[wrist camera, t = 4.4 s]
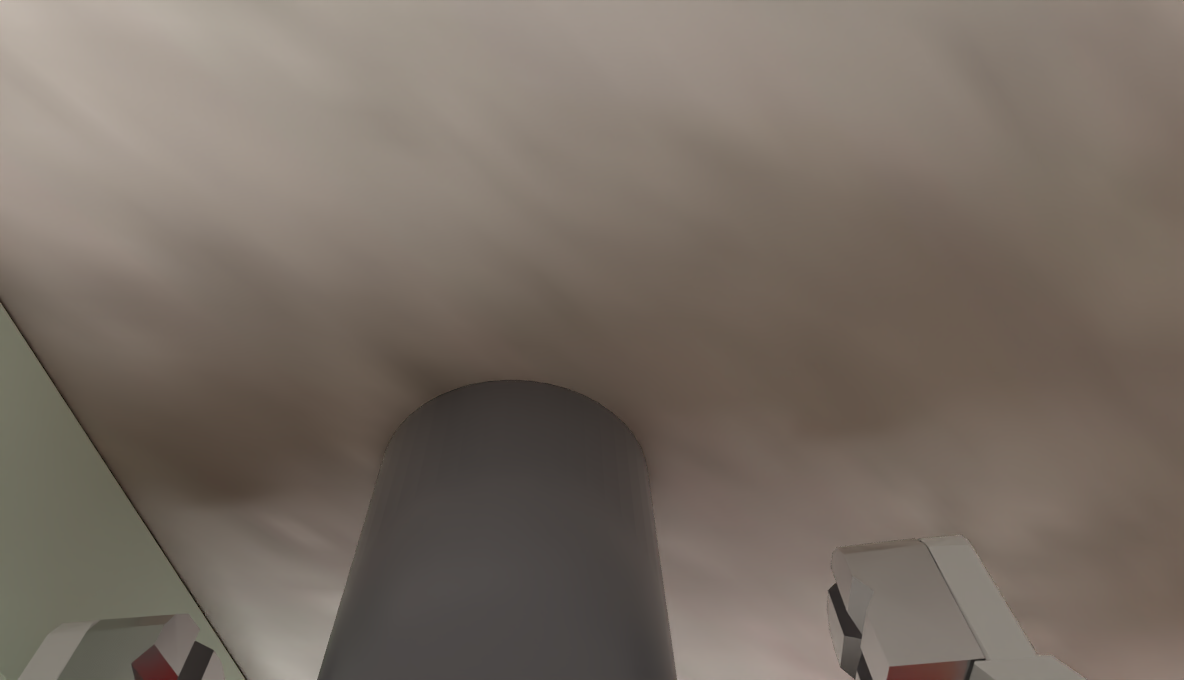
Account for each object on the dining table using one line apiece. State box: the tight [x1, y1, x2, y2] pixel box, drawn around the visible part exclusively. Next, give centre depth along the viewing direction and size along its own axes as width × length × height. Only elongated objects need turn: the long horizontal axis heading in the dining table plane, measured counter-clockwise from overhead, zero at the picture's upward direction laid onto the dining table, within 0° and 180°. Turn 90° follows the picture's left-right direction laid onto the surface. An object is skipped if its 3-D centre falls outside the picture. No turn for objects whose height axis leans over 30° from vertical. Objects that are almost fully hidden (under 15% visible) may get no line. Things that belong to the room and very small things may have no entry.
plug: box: [317, 380, 677, 680], centre depth 9 cm, size 4×4×6 cm
